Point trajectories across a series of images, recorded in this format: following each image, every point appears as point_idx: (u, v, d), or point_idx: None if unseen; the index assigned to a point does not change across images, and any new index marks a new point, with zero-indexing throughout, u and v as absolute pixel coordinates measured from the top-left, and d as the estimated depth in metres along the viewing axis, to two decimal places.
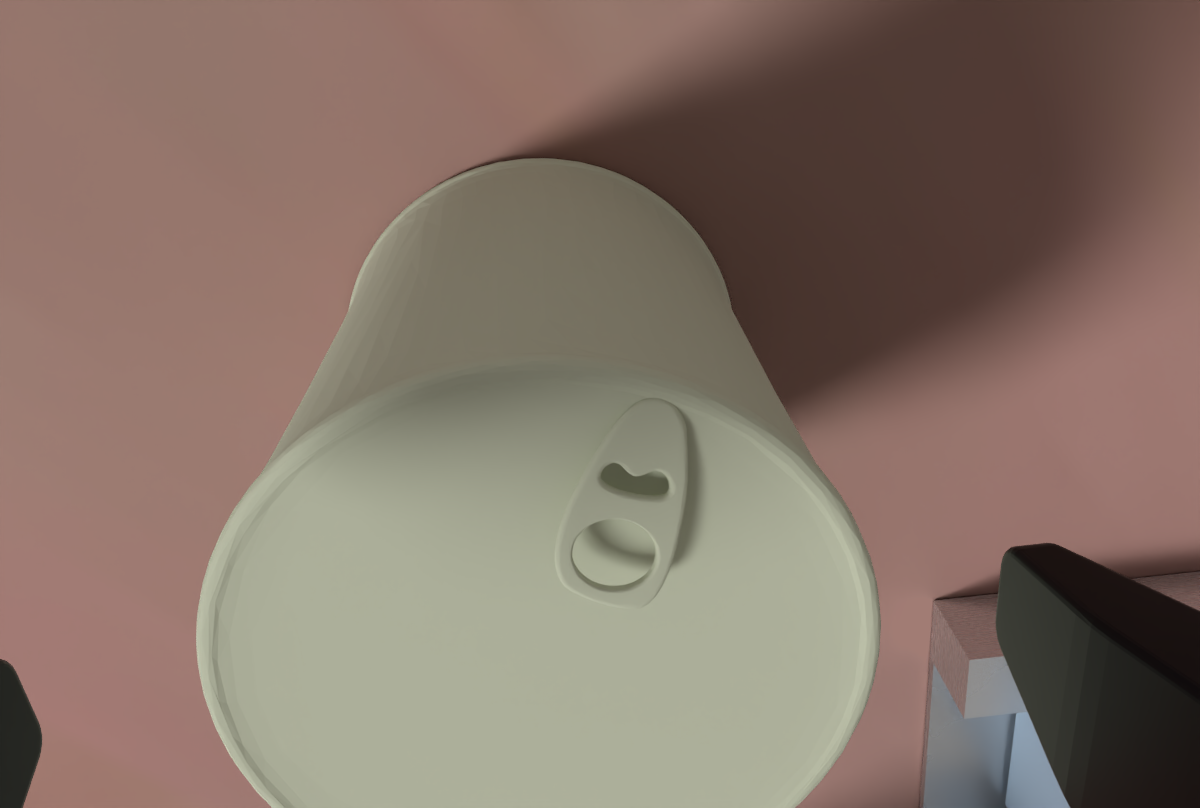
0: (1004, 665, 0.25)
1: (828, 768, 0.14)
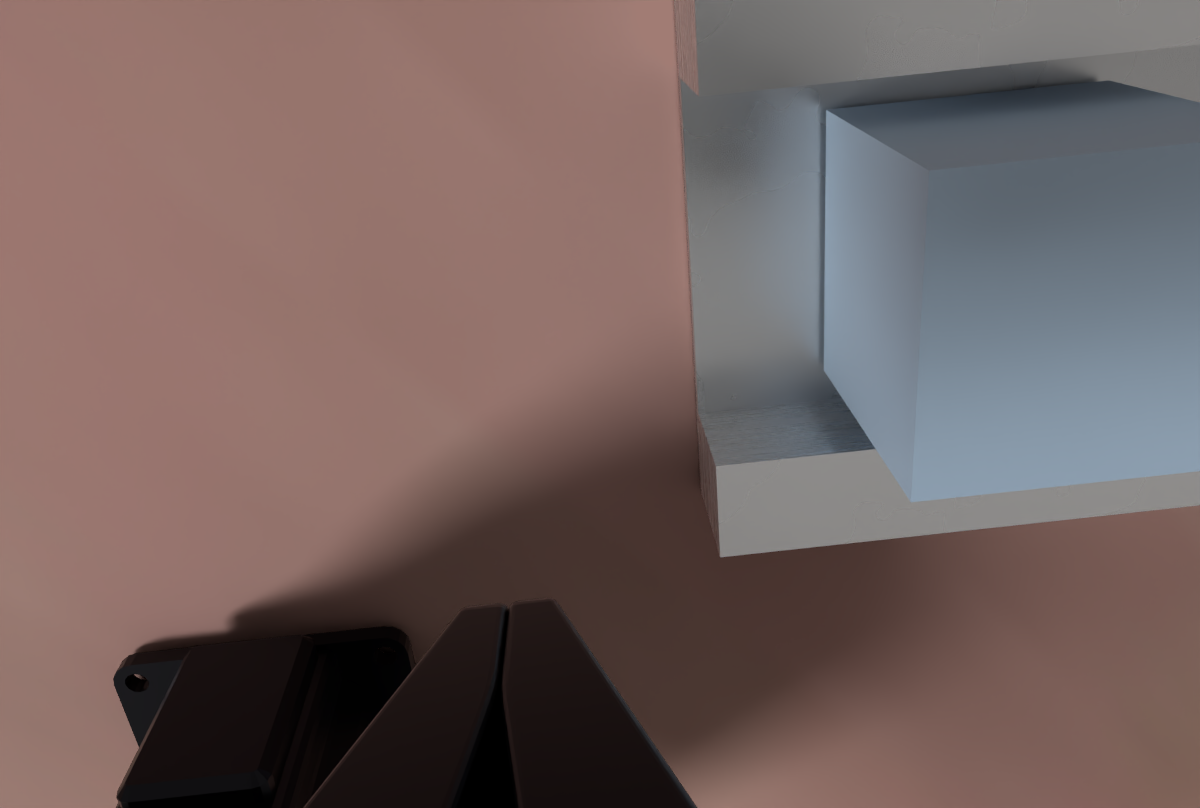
0: None
1: None
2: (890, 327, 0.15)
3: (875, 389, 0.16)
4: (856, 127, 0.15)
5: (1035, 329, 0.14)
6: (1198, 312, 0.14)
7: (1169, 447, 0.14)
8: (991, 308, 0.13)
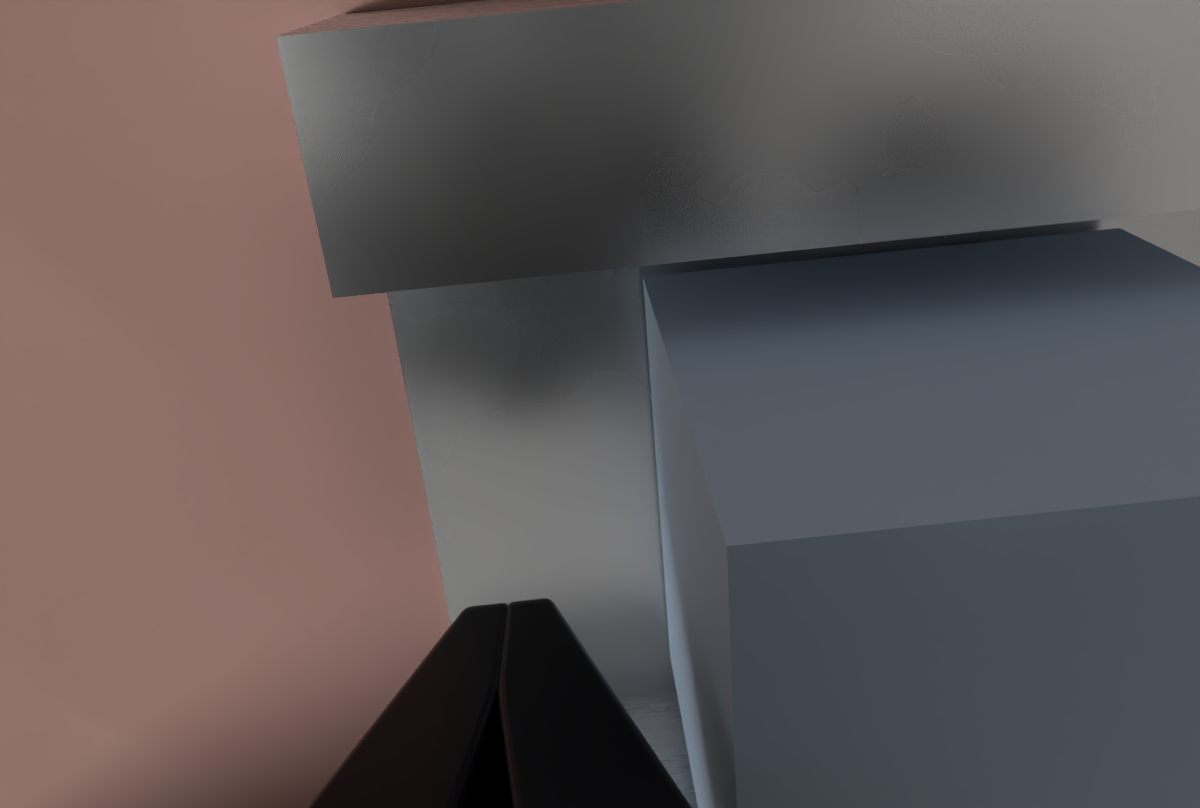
0: (413, 69, 0.07)
1: None
2: (709, 735, 0.08)
3: (706, 797, 0.09)
4: (663, 340, 0.08)
5: None
6: None
7: None
8: (884, 782, 0.06)
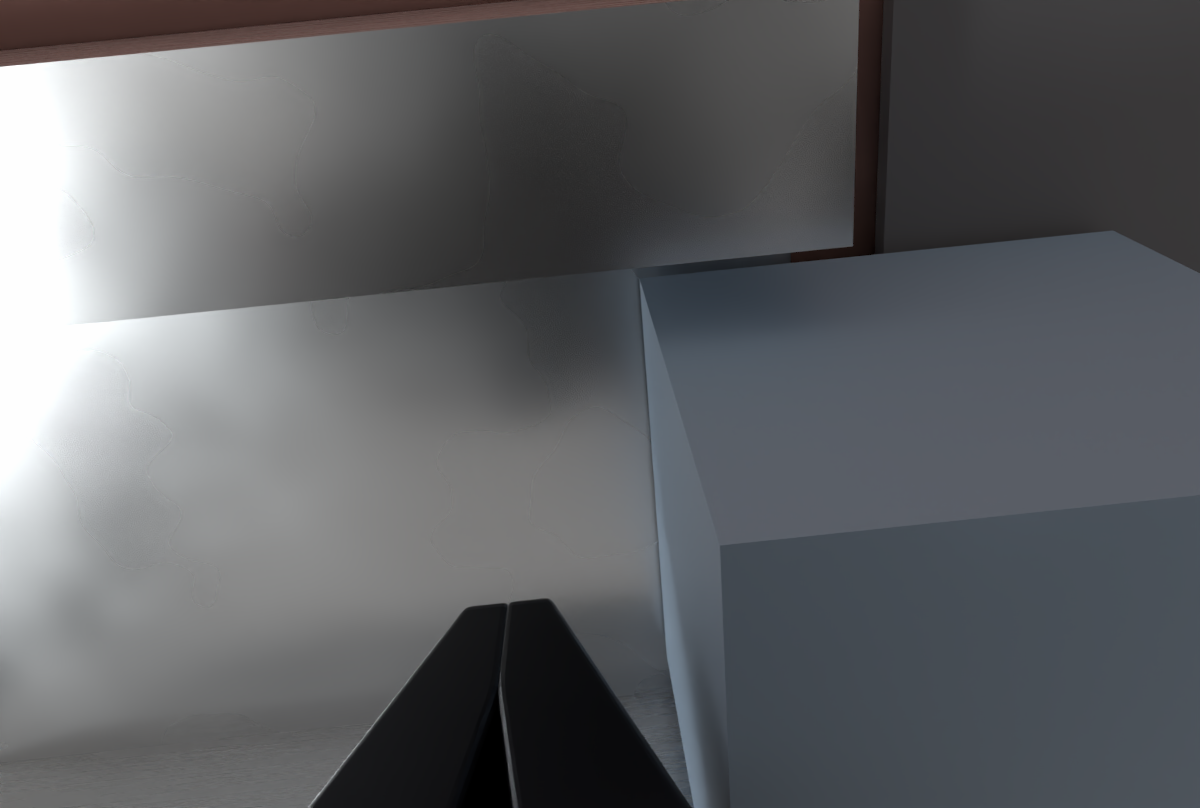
0: None
1: None
2: (704, 733, 0.08)
3: (700, 794, 0.09)
4: (659, 342, 0.08)
5: None
6: None
7: None
8: (877, 779, 0.06)
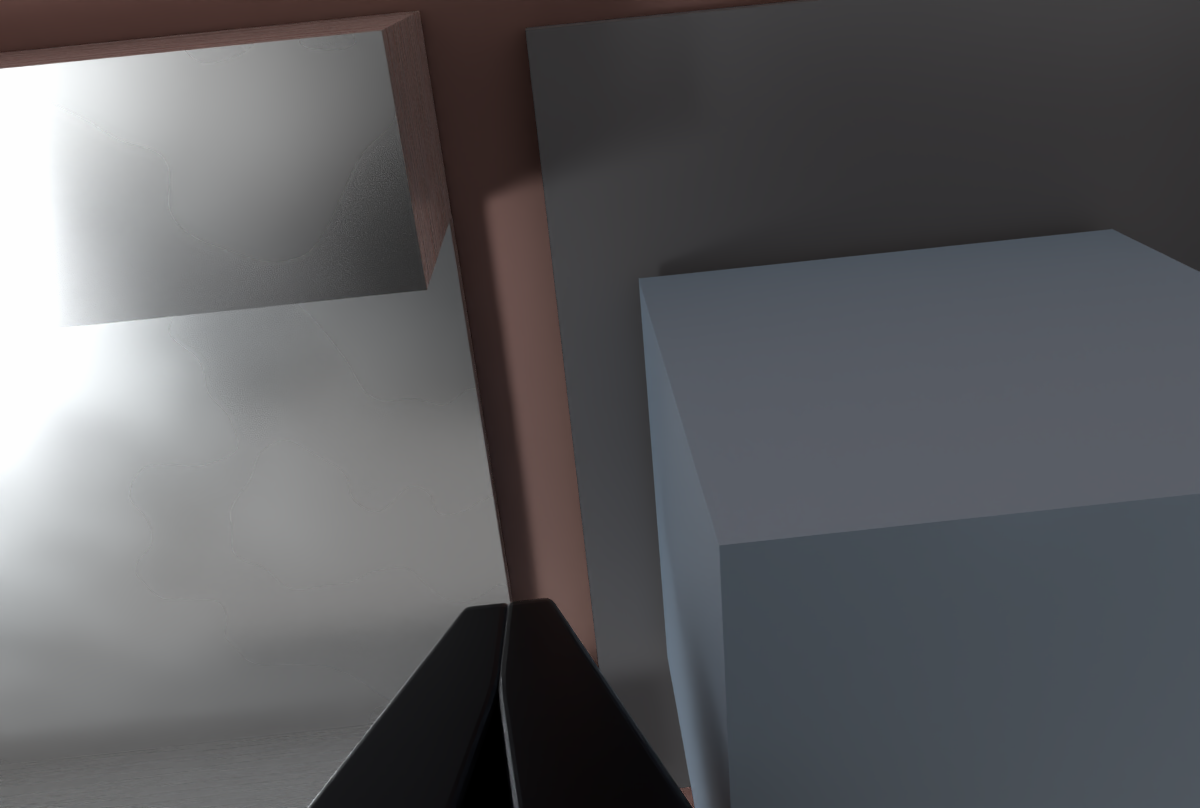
0: None
1: None
2: (704, 733, 0.08)
3: (702, 794, 0.09)
4: (658, 342, 0.08)
5: None
6: None
7: None
8: (877, 779, 0.06)
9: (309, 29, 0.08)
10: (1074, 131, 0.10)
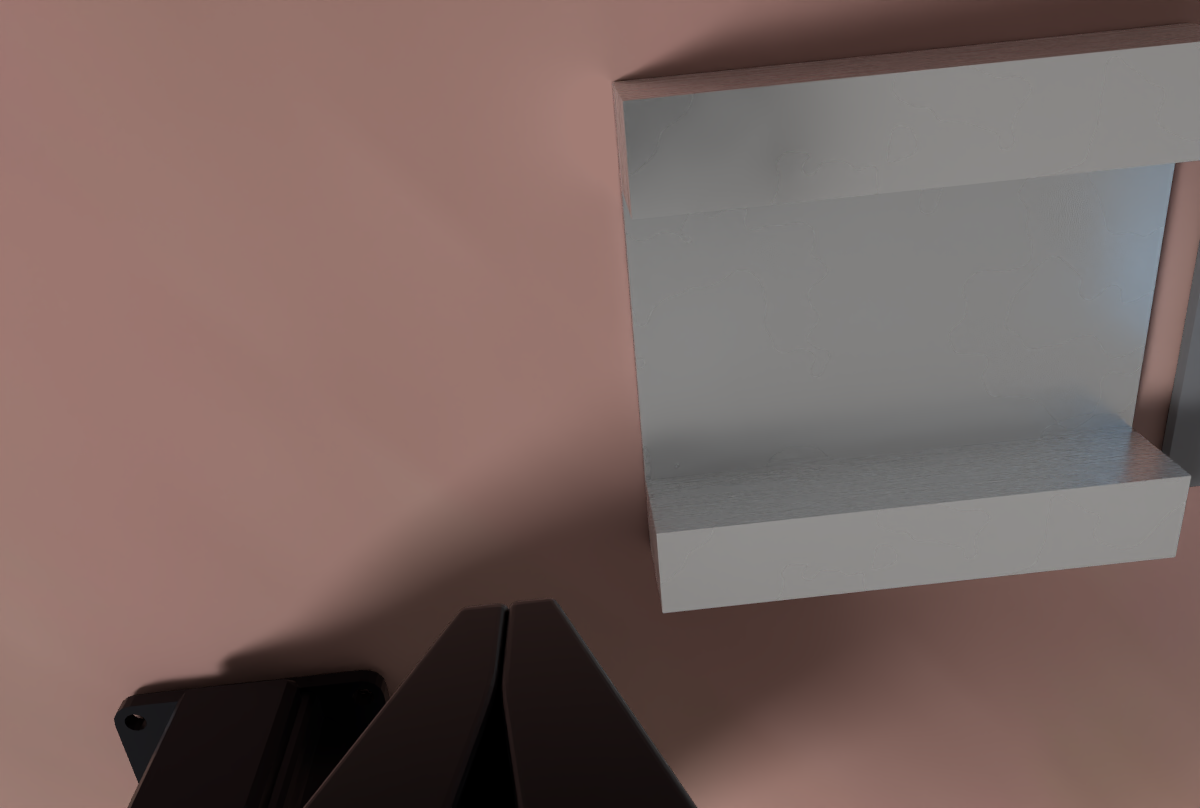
0: (680, 114, 0.16)
1: None
2: None
3: None
4: None
5: None
6: None
7: None
8: None
9: (1192, 32, 0.17)
10: None
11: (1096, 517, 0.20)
